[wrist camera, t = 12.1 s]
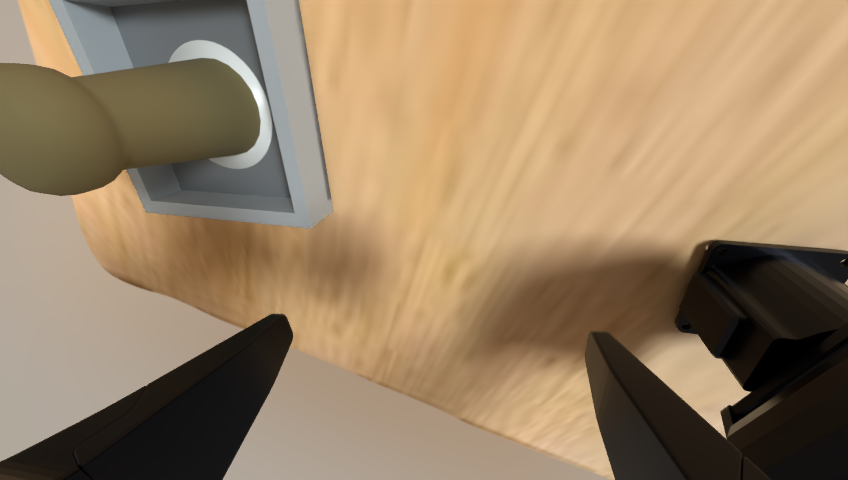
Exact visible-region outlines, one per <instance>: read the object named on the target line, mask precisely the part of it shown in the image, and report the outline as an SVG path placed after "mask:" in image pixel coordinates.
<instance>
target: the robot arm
mask: <svg viewBox="0 0 848 480" xmlns="http://www.w3.org/2000/svg"><path fill="white" fill-rule="evenodd" d="M720 248H724V249H723V250H722V251H721V252H717V251H718V249H720ZM844 259H846V260H845V261H843V262H841V261H842V260H844ZM840 262H841V263H840ZM847 279H848V251H843V250H831V249H819V248H806V247H794V246H782V245H769V244H757V243H744V242H732V241H716V242H713V243H712V244H710V246H709V247H708V249H707V251H706V253H705V255H704V258H703V260H702V262H701V264H700V267H699V269H698V271H697V273H696V274H695V275H694V276H693V277H692V279H691V282H690V284H689V286H688V288H687V291H686V293H685V295H684V297H683V300H682V302H681V304H680V306H679V308H680V311H679V313H678V315H677V318H676V320H675V325H676V327H677V328H678V330H679V331H681V332H685V333H692V334H698V335H699V337H700V338H701V340H702V341H703V343H704V344H705V345H706V347H707V348H708V350H709V351H710V353H711V354H712V355H713V356H714V357H715V358H719V359H722V360H723V361H724V363H725V364H726V366H727V367H728V368H729V370H730V371H731V373H732V374H733V375H734V377H735V378H736V380H737V381H738V382H739V384H740V385H741V386H742V388H743V389H744V390H746V391H750V392H751V393H749V394H748V395H747V396H745V397H744V398H743V399H741V400H740V401H738V402H737V403H736V404H734V405H733V406H731V405H729V406H727V407H726V408H724V409H723V410H722V411H721V416H722V421H723V425H724V429H725V433H726V438H727V439H726V438H724V437H723V436H722V435H721V434H720V433H719V432H718V431H717V430H716V429H715V428H713V427H712V426H711V425H710V424H709V423H708V422H707V421H706V420H705V419H704V418H702V417H701V416H700V415H699V414H698V413H697V412H696V411H695V410H694V409H692V408H691V407H690V406H689V405H688V404H687V403H686V402H685V401H684V400H683V399H681V398H680V397H679V396H678V395H677V394H676V393H675V392H674V391H673V390H671V389H670V388H669V387H668V386H667V385H666V384H665V383H664V382H663V381H662V380H660V379H659V378H658V377H657V376H656V375H655V374H654V373H653V372H652V371H650V370H649V369H648V368H647V367H646V366H645V365H644V364H643V363H642V362H641V361H639V360H638V359H637V358H636V357H635V356H634V355H633V354H632V353H631V352H629V351H628V350H627V349H626V348H625V347H624V346H623V345H622V344H621V343H620V342H618V341H617V340H616V339H615V338H614V337H613V336H612V335H611V334H610V333H608V332H605V331H591V332H590V333H589V335H588V340H587V346H586V351H585V362H586V367H587V372H588V378H589V383H590V388H591V393H592V398H593V403H594V409H595V413H596V418H597V422H598V426H599V429H600V432H601V436H602V439H603V442H604V445H605V448H606V451H607V455H608V458H609V461H610V464H611V467H612V471H613V474H614V477H615V480H848V286H847V285H846V284H845V282H846V281H847ZM685 323H688V324H687V325H683V324H685ZM292 340H293V332H292V329H291V327H290V324H289V322H288V319H287V317H286V316H285V315H284V314H271V315H269V316H267V317H265V318H263V319H262V320H260V321H258V322H256V323H255V324H253V325H251V326H249V327H248V328H246V329H244V330H242V331H241V332H239V333H237V334H235V335H234V336H232V337H230V338H228V339H227V340H225V341H223V342H221V343H220V344H218V345H216V346H214V347H213V348H211V349H209V350H207V351H206V352H204V353H202V354H200V355H198V356H197V357H195V358H193V359H191V360H190V361H188V362H186V363H184V364H183V365H181V366H179V367H177V368H176V369H174V370H172V371H170V372H169V373H167V374H165V375H163V376H162V377H160V378H158V379H156V380H155V381H153V382H151V383H149V384H148V385H147V386H144V387H142V388H141V389H139V390H137V391H136V392H133V393H132V394H130V395H128V396H126V397H124V398H123V399H121V400H119V401H117V402H116V403H114V404H112V405H110V406H108V407H106V408H105V409H103V410H101V411H99V412H97V413H95V414H93V415H91V416H89V417H87V418H86V419H84V420H82V421H80V422H78V423H76V424H74V425H72V426H70V427H68V428H66V429H64V430H62V431H60V432H59V433H57V434H55V435H53V436H51V437H49V438H47V439H45V440H43V441H41V442H39V443H37V444H35V445H33V446H31V447H29V448H27V449H26V450H24V451H21V452H20V453H18V454H16V455H14V456H11V457H9V458H7V459H6V460H3V461H1V462H0V480H223V477H224V476H225V474H226V472H227V470H228V468H229V467H230V465H231V463H232V461H233V459H234V457H235V455H236V454H237V452H238V450H239V448H240V446H241V444H242V442H243V441H244V438H245V437H246V435H247V433H248V431H249V429H250V427H251V426H252V424H253V422H254V420H255V418H256V416H257V415H258V413H259V411H260V409H261V407H262V405H263V403H264V402H265V400H266V398H267V396H268V394H269V392H270V390H271V388H272V386H273V384H274V382H275V380H276V378H277V376H278V373H279V371H280V368H281V366H282V364H283V361H284V359H285V357H286V354H287V352H288V350H289V347H290V345H291V343H292Z"/></svg>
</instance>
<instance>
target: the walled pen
mask: <svg viewBox="0 0 848 480" xmlns="http://www.w3.org/2000/svg"><path fill="white" fill-rule="evenodd" d="M49 2H50V4H51V6H52V9H53V11H54V13H55V15H56V17H57V19H58V22H59V24H60V26H61V28H62V30H63V32H64V35H65V37H66V39H67V41H68V43H69V46H70V48H71V50H72V52H73V54H74V56H75V59H76V61H77V63H78V65H79V67H80V69H81V72H82V74H83V76H85V75H91V74H98V73H105V72H111V71H118V70H124V69H131V68H138V67H144V66H151V65H157V64H164V63H170V62H177V61H184V60H190V59H197V58H212V59H216V60H219V61H221V62H223V63H225V64H227V65H229V66H230V67H231V68H232V69H234V70H235V71H236V72H237V73H238V74H239V75H240V76H241V77H242V78H243V79H244V81H245V82H246V84H247V85H248V86H249V88H250V89H251V91H252V93H253V95H254V98H255V100H256V102H257V105H258V109H259V114H260V120H261V124H260V135H259V137H258V139H257V141H256V143H255V146H253V147H252V148H251V149H250V150H249V151H248V152H246V153H242V154H239V155H233V156H225V157H218V158H210V159H202V160H194V161H187V162H179V163H171V164H163V165H155V166H148V167H140V168H132V169H126V170H127V172H128V174H129V176H130V178H131V180H132V183H133V185H134V187H135V189H136V191H137V193H138V196H139V198H140V200H141V202H142V204H143V207H144V209H145V211H146V212H147V213H157V214H167V215H177V216H188V217H198V218H208V219H219V220H229V221H239V222H249V223H260V224H270V225H280V226H291V227H301V228H313V227H314V226H315V225H316V224H318V223H319V222H320V221H321V220H323V219H324V218H325V217H327V216H328V215H329V214H330V213H332V212H333V207H332V201H331V195H330V189H329V183H328V177H327V170H326V164H325V158H324V152H323V146H322V140H321V134H320V128H319V122H318V116H317V110H316V104H315V98H314V92H313V86H312V79H311V73H310V67H309V61H308V55H307V49H306V43H305V37H304V31H303V25H302V19H301V13H300V7H299V1H298V0H49Z"/></svg>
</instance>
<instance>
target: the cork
mask: <svg viewBox="0 0 848 480" xmlns="http://www.w3.org/2000/svg"><path fill="white" fill-rule="evenodd" d="M260 124H261V120H260V114H259V109H258V105H257V102H256V100H255V98H254V95H253V93H252V91H251V89H250V88H249V86H248V85H247V84H246V82H245V81H244V79H243V78H242V77H241V76H240V75H239V74H238V73H237V72H236V71H235V70H234V69H232V68H231V67H230V66H229V65H227V64H225V63H223V62H221V61H219V60H216V59H212V58H197V59H190V60H184V61H177V62H170V63H164V64H157V65H151V66H144V67H138V68H131V69H124V70H118V71H111V72H105V73H98V74H91V75H85V76H78V77H72V78H71V77H69V76H67V75H65V74H63V73H61V72H59V71H57V70H54V69H51V68H46V67H41V66H36V65H29V64H16V63H0V174H1V175H3V176H4V177H5V178H7V179H8V180H10V181H12V182H13V183H15V184H17V185H19V186H21V187H23V188H25V189H27V190H29V191H34V192H39V193H44V194H52V195H59V196H65V195H77V194H81V193H85V192H88V191H91V190H95V189H98V188H101V187H104V186H105V185H107V184H109V183H110V182H112V181H114V180H115V179H116V177H117V176H118V175H119V174H120V173H121V171H122V170H124V169H132V168H140V167H148V166H155V165H163V164H171V163H179V162H187V161H194V160H202V159H210V158H218V157H225V156H233V155H239V154H242V153H246V152H248V151H249V150H250V149H251V148H252V147H253V146H255V143H256V141H257V139H258V137H259V135H260Z"/></svg>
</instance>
